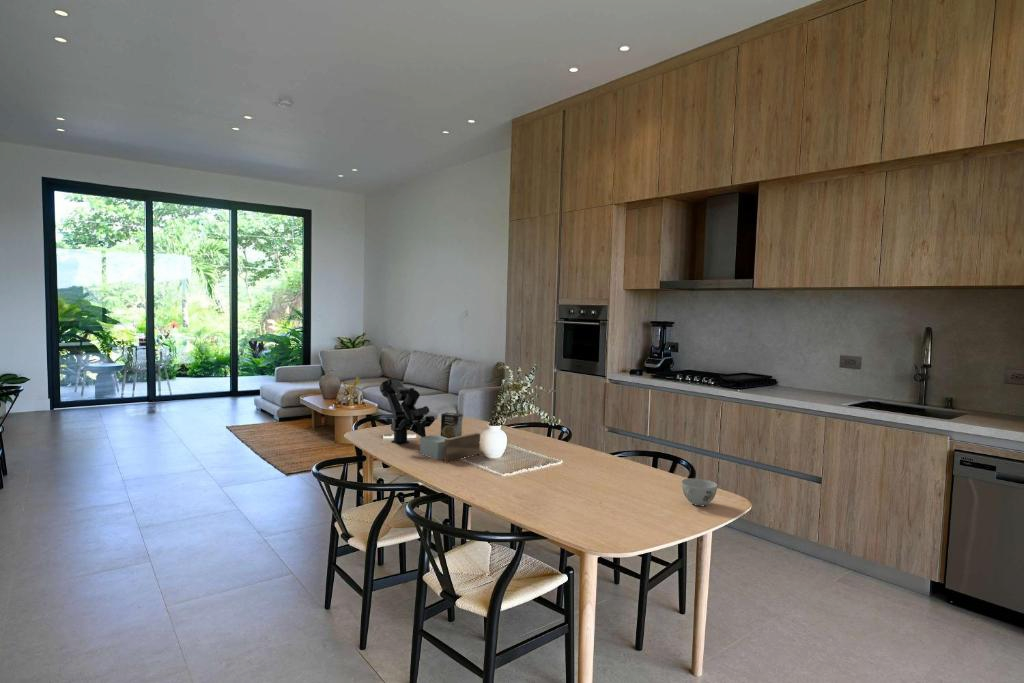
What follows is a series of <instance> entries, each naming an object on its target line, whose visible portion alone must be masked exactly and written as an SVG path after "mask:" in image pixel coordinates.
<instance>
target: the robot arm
mask: <svg viewBox="0 0 1024 683" xmlns="http://www.w3.org/2000/svg"><path fill="white" fill-rule="evenodd" d="M379 392H380V393H381V394H382V396H383V397H384V398H386V399H387V401H388V403H389V404H388V405H389V407H390V408H391V411H392V414H393V419H392V422H391V425H390V430H391V431H393V439H392V440H391V443H394V444H398V445H403V444H405V443H406V442H407V443H409V442H410V441H409V440H408V431H411V432H412V433H414V434H416V435H418V436H420V438H421V437H425V436H427V435H426V434H427V433H426V428H427V427H428V428H429V427H430V426H432V425H433V423H434V422H436V417H435V416H434V415H428V413H430V408H429V406H428V405H425V406H422V407H419V408H417V407H416V404H417V403H418V401H419V398H420V396H421V395H420V392H419V391H418V390H416V389H415V388H414V387H406V386H404V385H403V383H401V382H400V380H399V377H389V378H387V379H386V380H385V381H382V382H381V384H380V385H379ZM400 402H401V403H400ZM425 415H426V416H425ZM427 415H428V416H427Z"/></svg>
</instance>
